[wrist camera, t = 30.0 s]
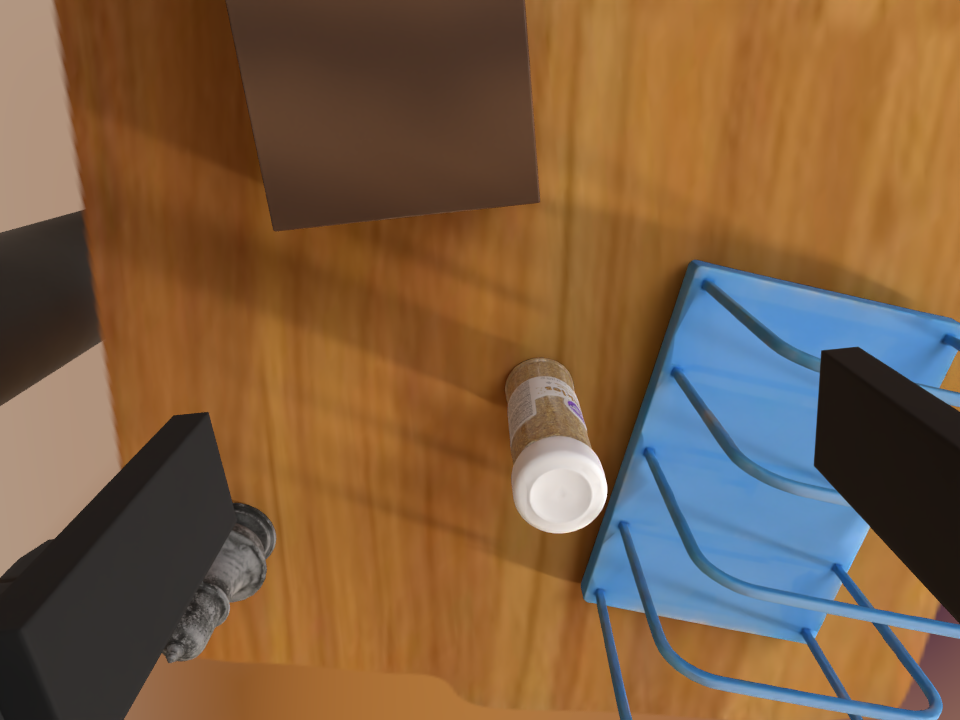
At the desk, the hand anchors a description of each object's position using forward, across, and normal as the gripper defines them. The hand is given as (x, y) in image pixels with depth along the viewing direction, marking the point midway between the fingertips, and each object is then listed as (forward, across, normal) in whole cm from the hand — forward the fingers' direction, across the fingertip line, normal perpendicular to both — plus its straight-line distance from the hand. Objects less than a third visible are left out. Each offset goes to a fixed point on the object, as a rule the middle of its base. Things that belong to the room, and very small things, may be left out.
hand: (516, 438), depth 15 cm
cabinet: (+29, +4, -10) cm, 31 cm away
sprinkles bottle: (+29, -2, +11) cm, 31 cm away
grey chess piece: (+29, +20, +20) cm, 40 cm away
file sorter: (+29, -16, +18) cm, 38 cm away
